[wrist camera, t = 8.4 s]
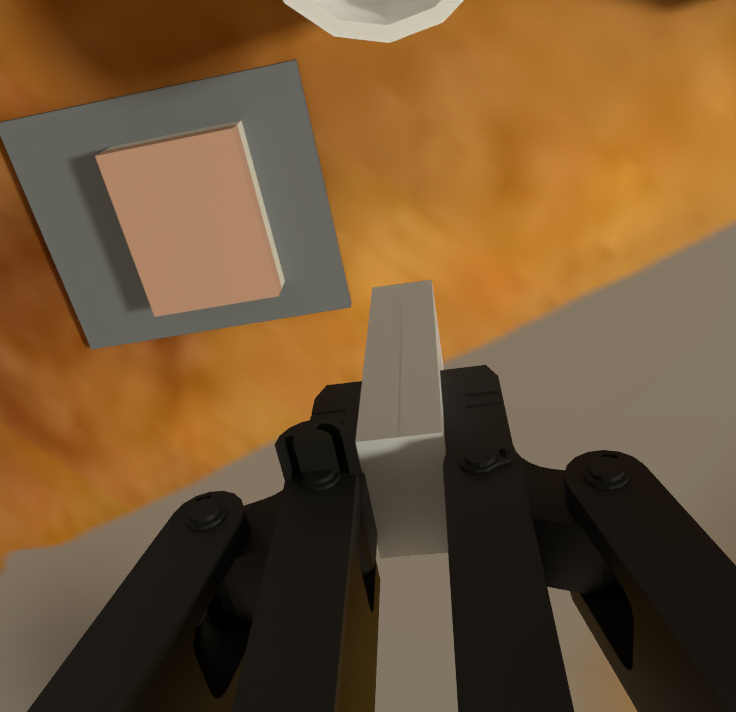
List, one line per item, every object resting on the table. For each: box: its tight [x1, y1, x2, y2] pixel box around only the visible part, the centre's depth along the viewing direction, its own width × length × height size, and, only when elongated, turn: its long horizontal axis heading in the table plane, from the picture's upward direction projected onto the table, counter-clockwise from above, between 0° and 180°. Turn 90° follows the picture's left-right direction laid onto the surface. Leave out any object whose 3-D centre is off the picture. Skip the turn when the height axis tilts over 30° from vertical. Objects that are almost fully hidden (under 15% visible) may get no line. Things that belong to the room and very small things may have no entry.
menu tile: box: [95, 120, 285, 317], centre depth 42 cm, size 10×2×8 cm
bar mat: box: [0, 59, 352, 349], centre depth 43 cm, size 15×18×1 cm
